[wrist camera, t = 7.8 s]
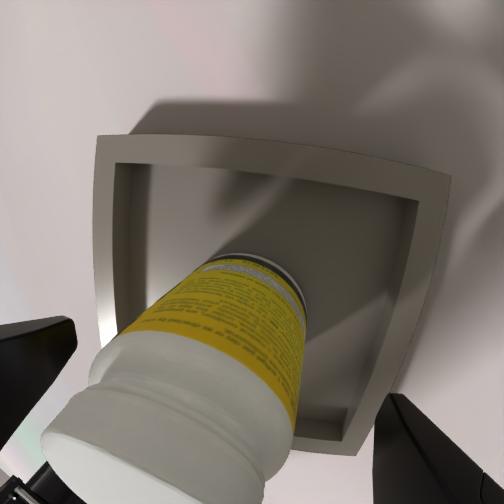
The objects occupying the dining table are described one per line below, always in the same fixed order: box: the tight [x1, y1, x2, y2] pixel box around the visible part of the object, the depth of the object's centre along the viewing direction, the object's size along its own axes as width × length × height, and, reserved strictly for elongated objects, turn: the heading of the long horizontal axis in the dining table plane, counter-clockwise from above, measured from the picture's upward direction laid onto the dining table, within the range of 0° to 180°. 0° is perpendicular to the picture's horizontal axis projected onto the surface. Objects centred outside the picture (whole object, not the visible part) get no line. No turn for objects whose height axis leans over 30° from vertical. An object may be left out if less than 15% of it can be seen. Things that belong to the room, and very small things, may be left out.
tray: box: [93, 134, 451, 456], centre depth 11 cm, size 12×12×2 cm
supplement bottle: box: [41, 253, 307, 504], centre depth 7 cm, size 5×5×8 cm
